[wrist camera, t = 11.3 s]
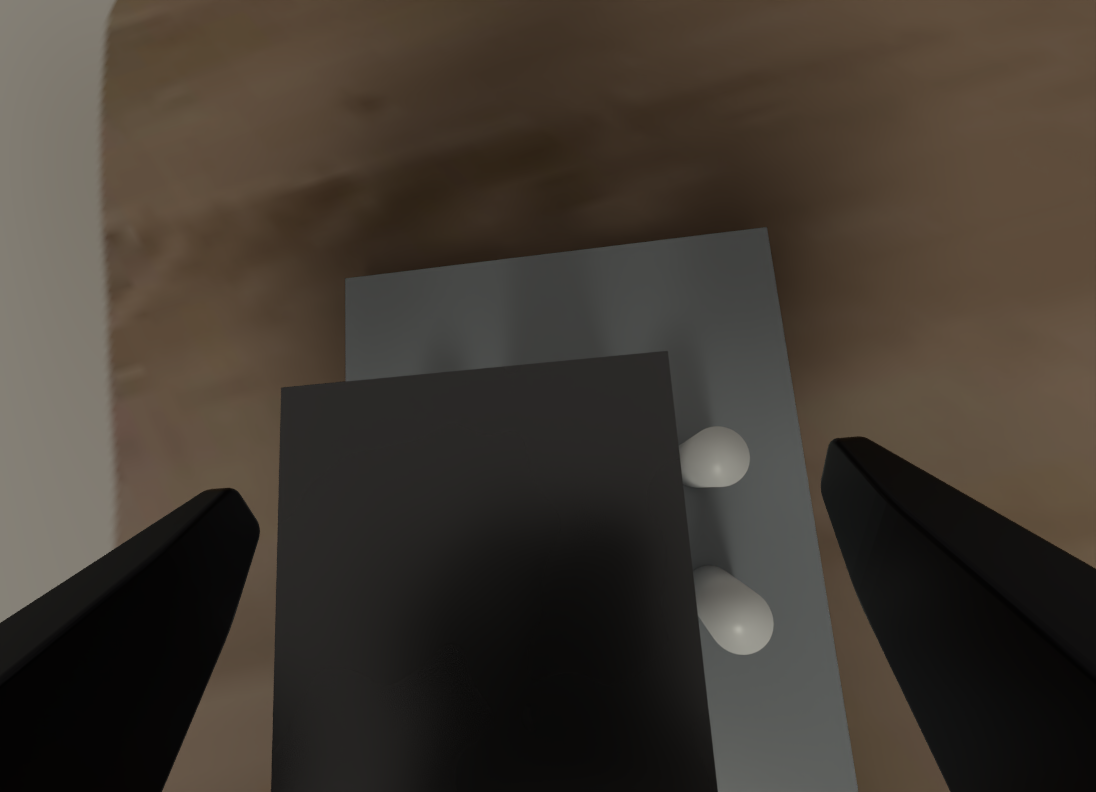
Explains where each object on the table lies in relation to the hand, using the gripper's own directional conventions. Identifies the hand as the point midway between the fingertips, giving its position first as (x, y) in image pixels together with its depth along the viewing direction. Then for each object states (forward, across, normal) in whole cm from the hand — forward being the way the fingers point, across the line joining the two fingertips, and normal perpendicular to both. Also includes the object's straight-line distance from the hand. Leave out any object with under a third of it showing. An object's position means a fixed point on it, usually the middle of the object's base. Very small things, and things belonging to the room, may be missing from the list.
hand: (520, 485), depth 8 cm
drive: (+5, 0, +7) cm, 8 cm away
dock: (+6, 0, +8) cm, 9 cm away
